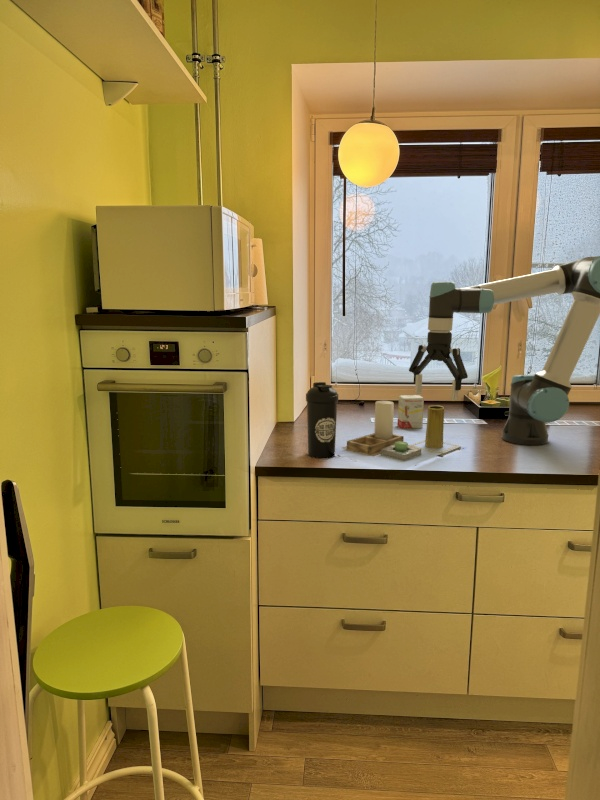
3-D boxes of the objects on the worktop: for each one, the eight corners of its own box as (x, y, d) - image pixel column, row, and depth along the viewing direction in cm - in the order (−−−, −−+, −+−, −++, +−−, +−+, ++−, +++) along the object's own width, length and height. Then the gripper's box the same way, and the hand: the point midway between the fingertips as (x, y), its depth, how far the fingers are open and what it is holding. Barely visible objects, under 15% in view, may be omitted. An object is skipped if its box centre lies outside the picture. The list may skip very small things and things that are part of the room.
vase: (440, 446, 198) (442, 405, 195) (445, 451, 192) (448, 409, 189) (422, 446, 197) (424, 405, 195) (427, 452, 191) (429, 409, 189)
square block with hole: (421, 458, 185) (421, 449, 184) (404, 464, 178) (404, 454, 178) (397, 452, 191) (397, 443, 190) (380, 458, 185) (380, 448, 184)
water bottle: (311, 460, 182) (311, 387, 177) (301, 451, 191) (302, 381, 187) (341, 458, 185) (343, 385, 180) (331, 449, 194) (332, 380, 190)
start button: (410, 449, 184) (410, 443, 184) (402, 451, 181) (403, 445, 181) (399, 446, 187) (399, 440, 187) (392, 449, 184) (392, 443, 184)
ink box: (401, 428, 221) (402, 397, 219) (397, 425, 226) (398, 395, 224) (423, 428, 223) (424, 397, 220) (418, 424, 227) (419, 394, 225)
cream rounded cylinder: (395, 443, 197) (397, 402, 194) (385, 447, 193) (386, 405, 190) (381, 440, 201) (382, 399, 198) (370, 443, 197) (371, 402, 194)
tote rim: (460, 449, 194) (461, 446, 194) (441, 457, 186) (441, 453, 186) (427, 442, 203) (427, 438, 203) (407, 448, 195) (407, 445, 195)
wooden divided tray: (408, 447, 196) (408, 437, 195) (373, 459, 183) (373, 448, 182) (377, 440, 205) (377, 430, 204) (341, 451, 192) (341, 440, 191)
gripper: (482, 333, 181) (476, 401, 185) (413, 328, 198) (410, 390, 202) (469, 334, 176) (464, 404, 180) (400, 329, 193) (397, 392, 197)
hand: (435, 397), depth 191 cm, fingers open, 13 cm apart
